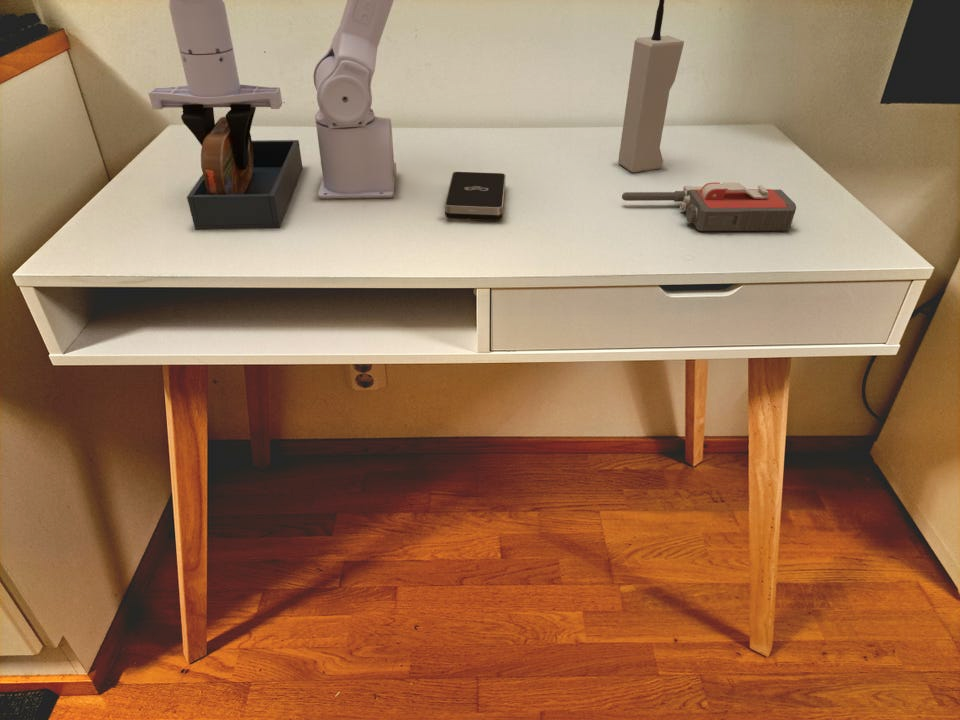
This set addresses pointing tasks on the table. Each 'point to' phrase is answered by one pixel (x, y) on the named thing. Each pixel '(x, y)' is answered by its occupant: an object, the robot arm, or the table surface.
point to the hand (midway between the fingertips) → (231, 167)
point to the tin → (224, 162)
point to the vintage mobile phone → (648, 98)
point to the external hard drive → (475, 196)
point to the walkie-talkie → (728, 206)
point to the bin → (252, 191)
